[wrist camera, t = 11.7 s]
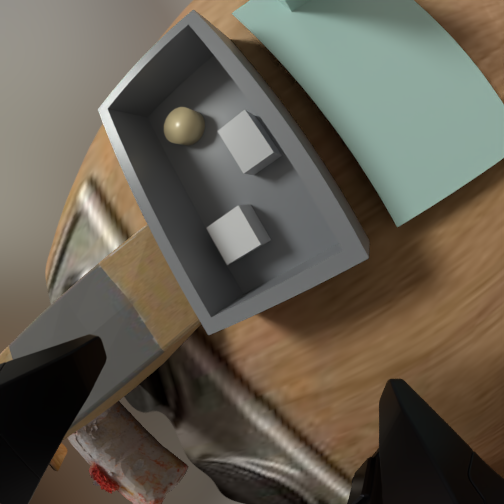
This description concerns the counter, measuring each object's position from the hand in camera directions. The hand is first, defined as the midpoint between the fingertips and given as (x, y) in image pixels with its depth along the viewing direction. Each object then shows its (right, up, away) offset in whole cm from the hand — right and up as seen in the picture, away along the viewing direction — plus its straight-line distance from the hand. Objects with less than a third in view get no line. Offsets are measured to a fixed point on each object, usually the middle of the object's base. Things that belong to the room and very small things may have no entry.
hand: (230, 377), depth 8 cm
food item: (-12, -20, +21) cm, 31 cm away
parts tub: (0, +9, +10) cm, 13 cm away
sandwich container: (-9, -2, +16) cm, 18 cm away
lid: (+8, +14, +5) cm, 17 cm away
